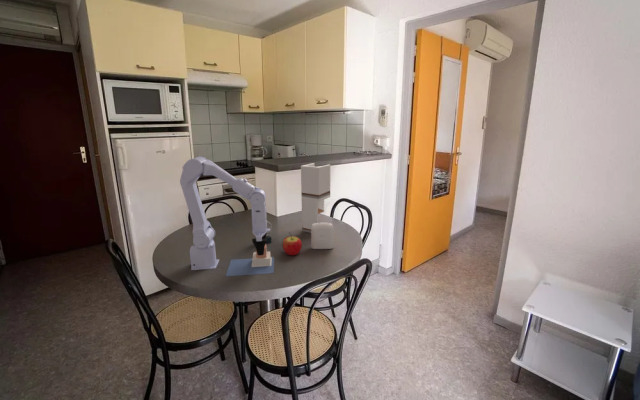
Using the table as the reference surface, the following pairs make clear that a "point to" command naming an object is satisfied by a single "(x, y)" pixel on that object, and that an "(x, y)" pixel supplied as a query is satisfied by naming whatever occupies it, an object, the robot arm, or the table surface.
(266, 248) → the terracotta block
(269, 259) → the base block
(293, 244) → the apple
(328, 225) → the photo printer
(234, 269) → the blueprint board
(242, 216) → the table surface
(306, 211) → the tall white column
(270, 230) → the watch
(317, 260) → the table surface
